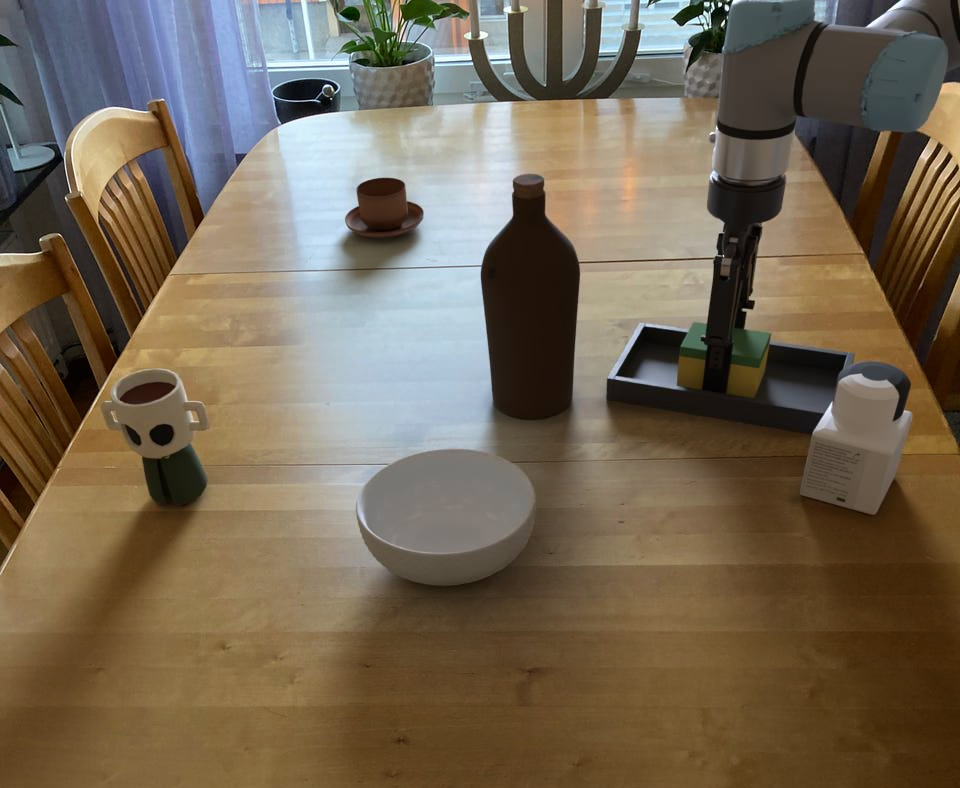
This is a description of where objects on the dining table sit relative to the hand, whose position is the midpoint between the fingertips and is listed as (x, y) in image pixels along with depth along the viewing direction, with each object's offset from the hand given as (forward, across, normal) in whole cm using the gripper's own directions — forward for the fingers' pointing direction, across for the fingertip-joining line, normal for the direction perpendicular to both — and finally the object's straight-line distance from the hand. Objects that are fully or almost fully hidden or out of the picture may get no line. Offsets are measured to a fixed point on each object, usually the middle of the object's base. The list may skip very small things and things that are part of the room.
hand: (720, 376), depth 116 cm
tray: (+1, 0, +1) cm, 2 cm away
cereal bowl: (+1, +38, -18) cm, 42 cm away
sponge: (0, 0, 0) cm, 0 cm away
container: (+1, +15, +17) cm, 22 cm away
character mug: (+1, +38, -50) cm, 63 cm away
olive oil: (+1, +9, -20) cm, 22 cm away
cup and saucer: (+2, -29, -58) cm, 65 cm away
